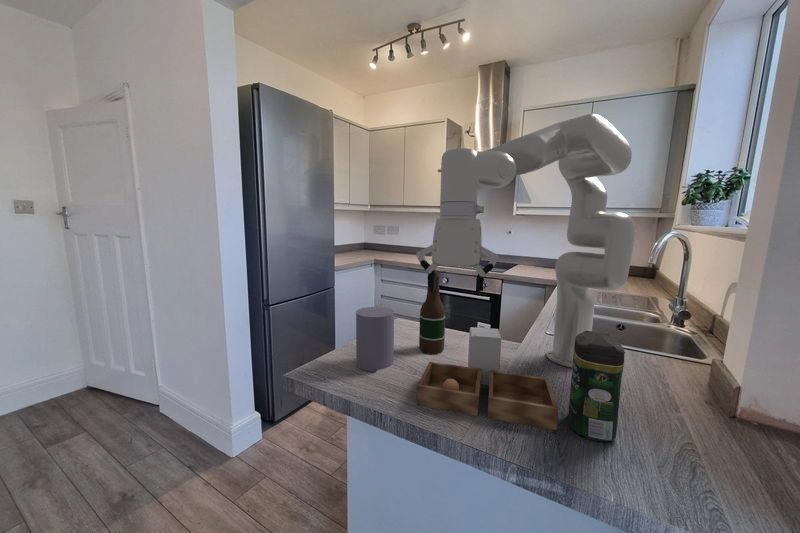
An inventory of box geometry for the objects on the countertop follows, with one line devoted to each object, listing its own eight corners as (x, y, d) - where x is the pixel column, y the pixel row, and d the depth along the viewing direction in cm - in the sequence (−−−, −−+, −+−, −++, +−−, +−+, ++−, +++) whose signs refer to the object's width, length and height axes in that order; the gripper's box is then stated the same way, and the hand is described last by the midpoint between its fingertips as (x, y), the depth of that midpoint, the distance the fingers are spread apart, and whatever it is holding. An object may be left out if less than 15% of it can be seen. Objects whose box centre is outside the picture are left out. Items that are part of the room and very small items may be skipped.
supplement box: (499, 389, 76) (502, 338, 75) (467, 385, 78) (469, 335, 76) (496, 375, 84) (499, 328, 82) (467, 372, 85) (469, 326, 83)
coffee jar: (565, 409, 68) (573, 325, 66) (609, 419, 65) (619, 331, 63) (569, 436, 60) (578, 340, 57) (619, 449, 56) (631, 348, 54)
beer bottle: (445, 355, 96) (448, 276, 92) (419, 354, 96) (421, 275, 92) (442, 345, 103) (445, 272, 100) (418, 344, 103) (420, 271, 100)
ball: (459, 392, 73) (460, 377, 73) (457, 400, 70) (458, 384, 69) (443, 389, 74) (444, 374, 74) (441, 397, 71) (441, 382, 70)
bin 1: (480, 388, 76) (481, 369, 76) (477, 419, 64) (478, 396, 64) (428, 380, 80) (429, 361, 79) (416, 408, 68) (417, 386, 67)
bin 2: (546, 399, 72) (548, 378, 71) (556, 434, 60) (558, 409, 60) (488, 390, 76) (489, 370, 75) (487, 421, 64) (488, 397, 63)
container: (368, 353, 96) (368, 305, 94) (399, 360, 91) (400, 309, 89) (348, 367, 87) (348, 313, 85) (382, 375, 82) (382, 319, 80)
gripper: (501, 212, 68) (496, 292, 70) (421, 212, 73) (419, 286, 75) (501, 211, 60) (496, 299, 63) (413, 211, 65) (411, 293, 68)
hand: (454, 292), depth 69 cm, fingers open, 9 cm apart
